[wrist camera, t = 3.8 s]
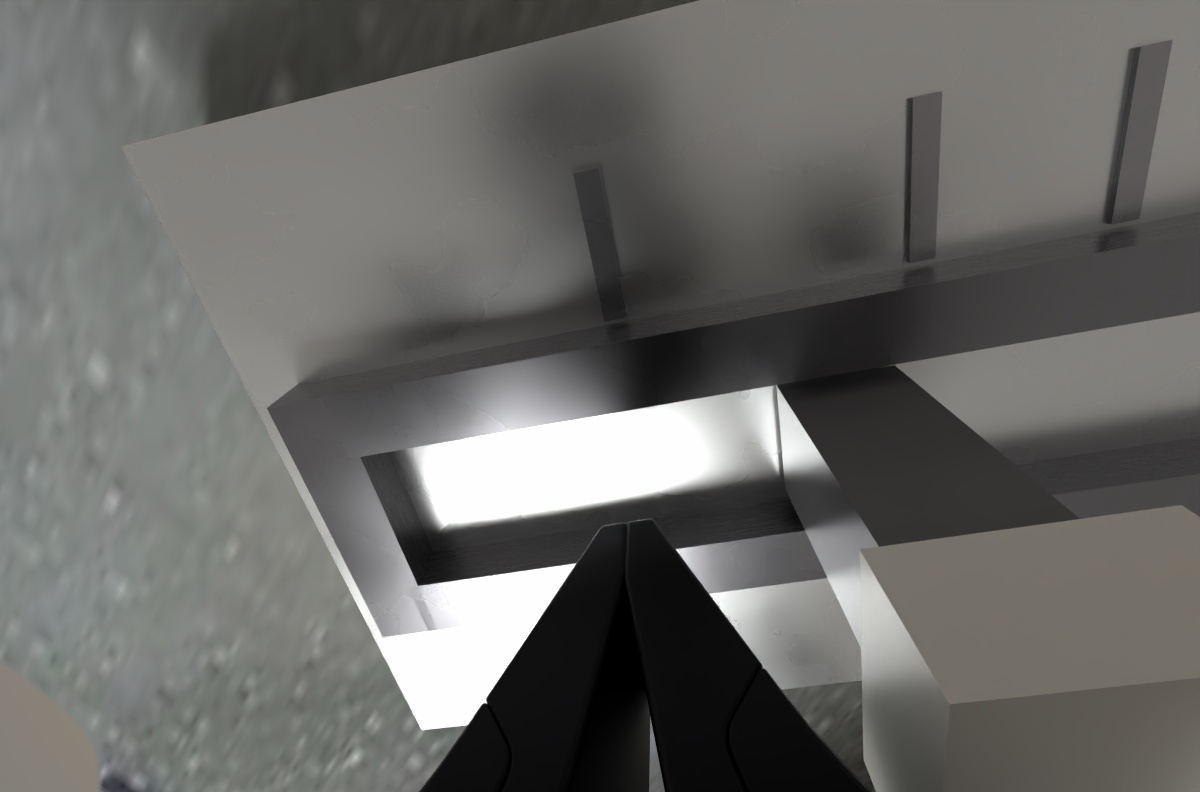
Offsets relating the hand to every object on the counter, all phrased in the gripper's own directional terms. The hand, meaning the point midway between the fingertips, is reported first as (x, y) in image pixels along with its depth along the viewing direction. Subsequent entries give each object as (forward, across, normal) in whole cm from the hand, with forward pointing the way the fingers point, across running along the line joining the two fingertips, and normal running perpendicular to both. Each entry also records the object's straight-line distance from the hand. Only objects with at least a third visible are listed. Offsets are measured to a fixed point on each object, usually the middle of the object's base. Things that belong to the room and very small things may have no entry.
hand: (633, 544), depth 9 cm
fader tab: (+2, -4, 0) cm, 4 cm away
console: (+4, -5, 0) cm, 7 cm away
